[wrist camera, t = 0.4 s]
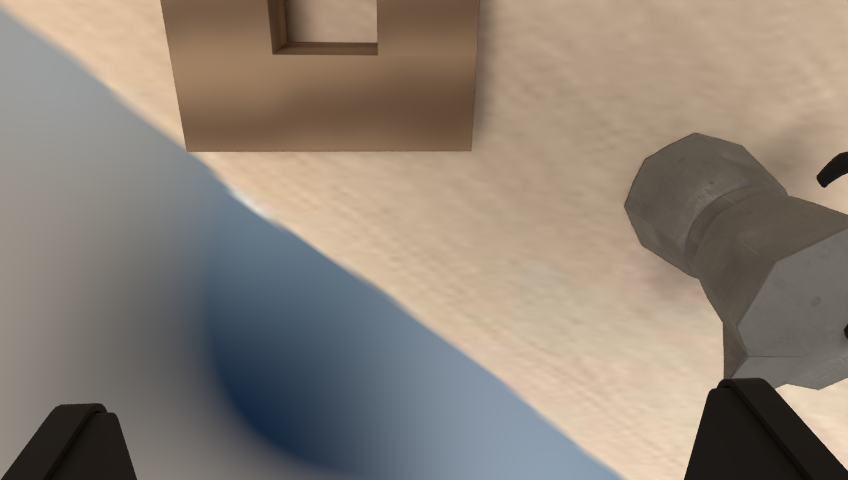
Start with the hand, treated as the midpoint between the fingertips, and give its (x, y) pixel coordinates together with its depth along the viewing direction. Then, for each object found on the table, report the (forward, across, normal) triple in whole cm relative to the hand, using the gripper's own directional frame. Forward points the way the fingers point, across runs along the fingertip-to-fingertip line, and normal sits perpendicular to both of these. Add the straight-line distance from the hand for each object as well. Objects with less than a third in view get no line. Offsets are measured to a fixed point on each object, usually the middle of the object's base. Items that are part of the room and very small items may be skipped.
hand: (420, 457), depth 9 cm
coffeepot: (+30, -21, +7) cm, 37 cm away
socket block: (+30, +4, -5) cm, 31 cm away
